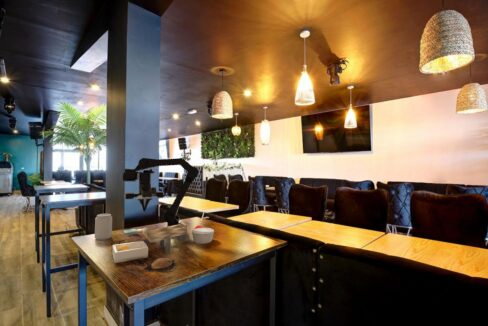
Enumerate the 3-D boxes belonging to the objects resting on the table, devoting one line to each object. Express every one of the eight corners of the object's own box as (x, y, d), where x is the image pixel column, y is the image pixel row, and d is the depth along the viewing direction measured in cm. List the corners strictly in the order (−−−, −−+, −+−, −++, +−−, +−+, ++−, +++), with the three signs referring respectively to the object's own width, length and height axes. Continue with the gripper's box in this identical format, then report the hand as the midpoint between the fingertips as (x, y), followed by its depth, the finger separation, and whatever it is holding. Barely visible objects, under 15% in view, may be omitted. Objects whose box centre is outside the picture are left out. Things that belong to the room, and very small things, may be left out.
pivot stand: (163, 246, 112) (163, 231, 112) (170, 253, 103) (170, 237, 103) (159, 246, 111) (159, 231, 111) (165, 254, 102) (166, 237, 102)
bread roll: (178, 263, 94) (179, 254, 94) (172, 273, 85) (172, 263, 85) (151, 263, 94) (151, 253, 94) (142, 273, 85) (142, 262, 85)
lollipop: (209, 233, 135) (210, 211, 135) (192, 234, 131) (193, 212, 131) (207, 230, 140) (208, 209, 140) (191, 231, 137) (191, 210, 137)
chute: (173, 227, 127) (172, 215, 127) (189, 240, 107) (188, 226, 107) (124, 239, 115) (123, 225, 114) (132, 255, 94) (130, 239, 94)
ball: (123, 255, 100) (130, 247, 101) (124, 258, 96) (132, 250, 98) (115, 250, 98) (123, 241, 99) (116, 253, 95) (124, 244, 96)
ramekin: (195, 245, 113) (195, 234, 114) (188, 239, 123) (189, 228, 123) (217, 242, 119) (217, 232, 119) (209, 236, 129) (209, 226, 129)
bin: (143, 249, 107) (143, 240, 107) (147, 257, 98) (148, 247, 98) (112, 254, 100) (112, 245, 100) (114, 263, 92) (115, 252, 92)
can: (103, 241, 117) (104, 216, 117) (90, 239, 119) (91, 215, 119) (115, 236, 124) (115, 213, 125) (102, 235, 126) (103, 212, 126)
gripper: (127, 183, 115) (126, 216, 115) (167, 182, 125) (166, 212, 125) (124, 181, 124) (123, 212, 124) (161, 181, 134) (160, 209, 134)
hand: (144, 211), depth 126 cm, fingers closed
